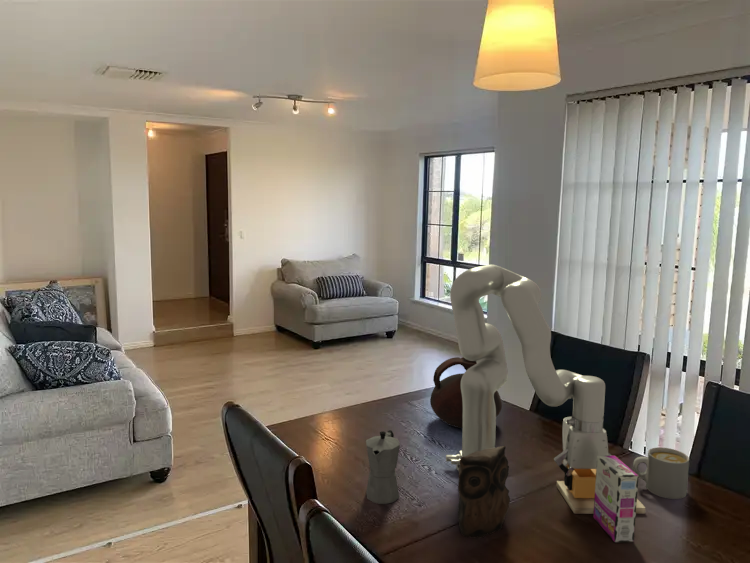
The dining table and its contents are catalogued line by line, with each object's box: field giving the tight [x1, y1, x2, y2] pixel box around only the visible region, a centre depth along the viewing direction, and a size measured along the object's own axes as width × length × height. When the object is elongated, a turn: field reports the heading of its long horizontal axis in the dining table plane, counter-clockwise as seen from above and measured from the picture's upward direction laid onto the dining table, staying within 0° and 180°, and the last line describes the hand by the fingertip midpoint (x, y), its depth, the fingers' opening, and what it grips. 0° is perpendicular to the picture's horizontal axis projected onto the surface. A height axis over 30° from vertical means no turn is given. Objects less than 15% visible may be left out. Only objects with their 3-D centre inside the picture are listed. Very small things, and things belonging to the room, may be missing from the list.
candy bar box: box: [593, 455, 639, 543], centre depth 135 cm, size 11×5×16 cm, turn 5°
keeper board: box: [556, 480, 646, 515], centre depth 150 cm, size 18×14×6 cm
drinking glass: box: [561, 416, 572, 465], centre depth 166 cm, size 7×7×15 cm
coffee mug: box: [632, 446, 690, 500], centre depth 155 cm, size 13×10×10 cm
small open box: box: [570, 469, 596, 498], centre depth 149 cm, size 7×7×5 cm
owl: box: [457, 445, 511, 539], centre depth 136 cm, size 13×13×20 cm
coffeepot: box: [365, 429, 401, 505], centre depth 152 cm, size 15×9×18 cm, turn 163°
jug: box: [429, 356, 503, 429], centre depth 201 cm, size 25×25×25 cm
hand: (583, 487), depth 150 cm, fingers closed on small open box, 7 cm apart
